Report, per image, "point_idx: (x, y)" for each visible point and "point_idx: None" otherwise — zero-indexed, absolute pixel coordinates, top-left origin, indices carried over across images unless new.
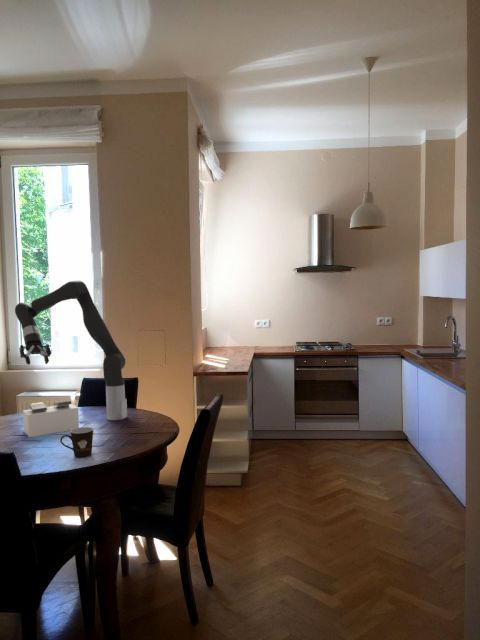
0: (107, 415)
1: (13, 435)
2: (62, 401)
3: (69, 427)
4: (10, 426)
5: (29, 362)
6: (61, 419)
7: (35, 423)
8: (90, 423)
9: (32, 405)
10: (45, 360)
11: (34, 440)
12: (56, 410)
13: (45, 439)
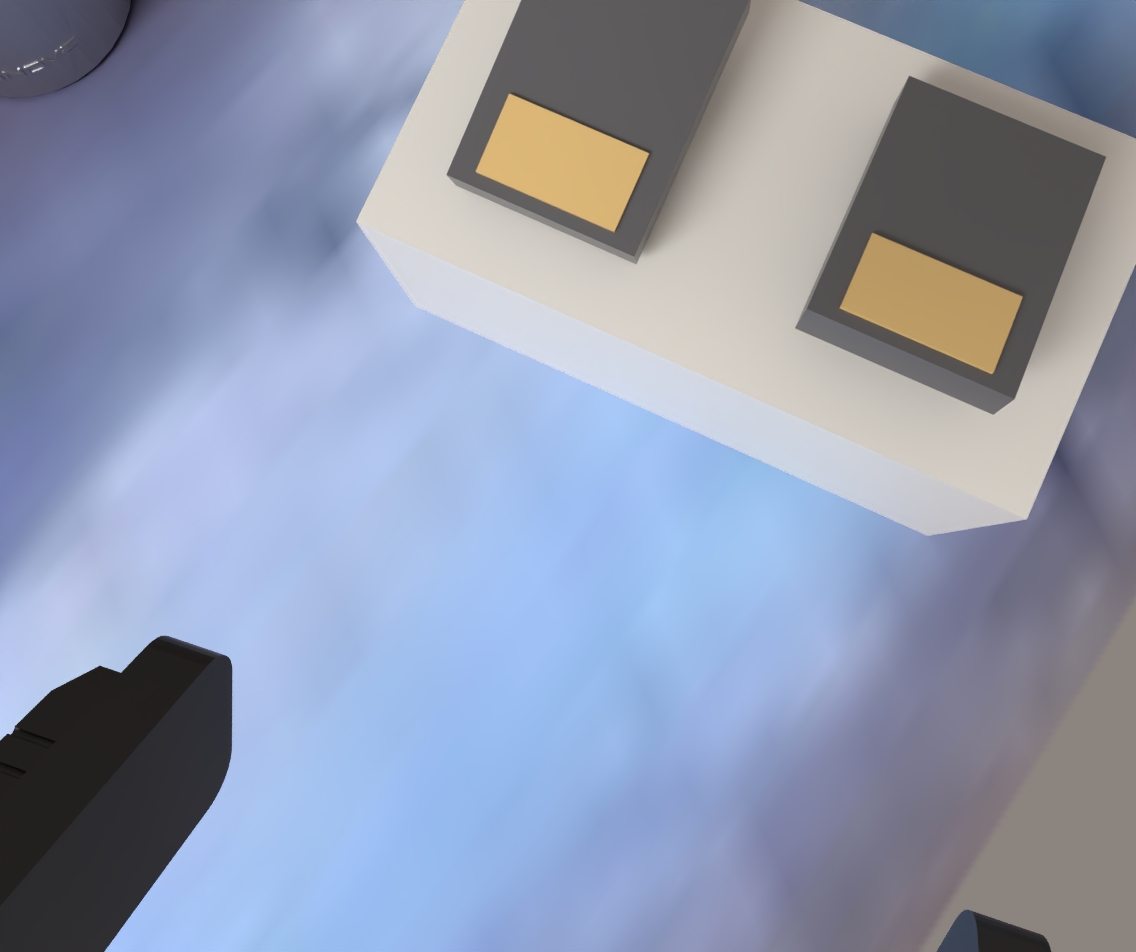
0: (96, 8)
1: (1090, 499)
2: (551, 141)
3: None
4: (867, 920)
5: (1013, 929)
6: None
7: None
8: (324, 99)
9: (1018, 298)
10: (145, 826)
11: (1086, 105)
12: (785, 28)
13: (1002, 29)
